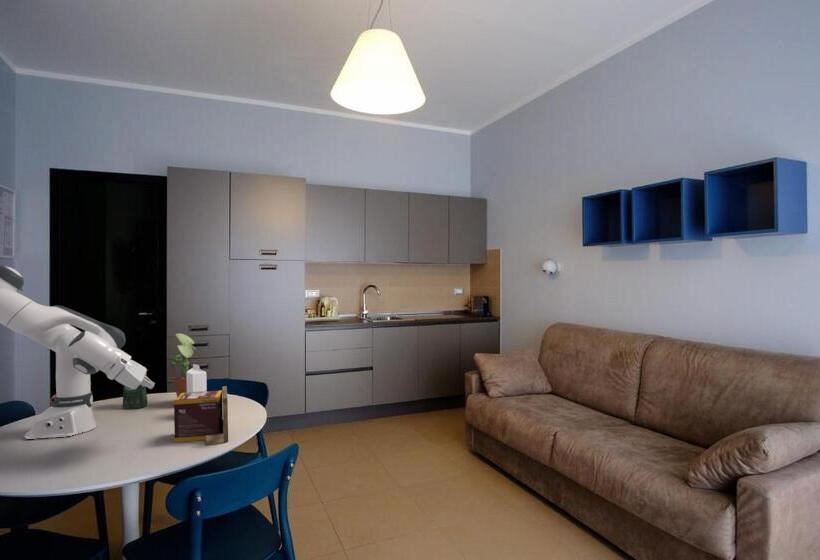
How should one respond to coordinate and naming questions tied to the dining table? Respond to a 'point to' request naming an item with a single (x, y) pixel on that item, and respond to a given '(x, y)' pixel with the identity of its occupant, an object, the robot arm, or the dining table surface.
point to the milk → (196, 380)
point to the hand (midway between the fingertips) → (153, 386)
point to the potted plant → (182, 362)
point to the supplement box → (197, 415)
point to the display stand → (223, 437)
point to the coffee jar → (134, 397)
